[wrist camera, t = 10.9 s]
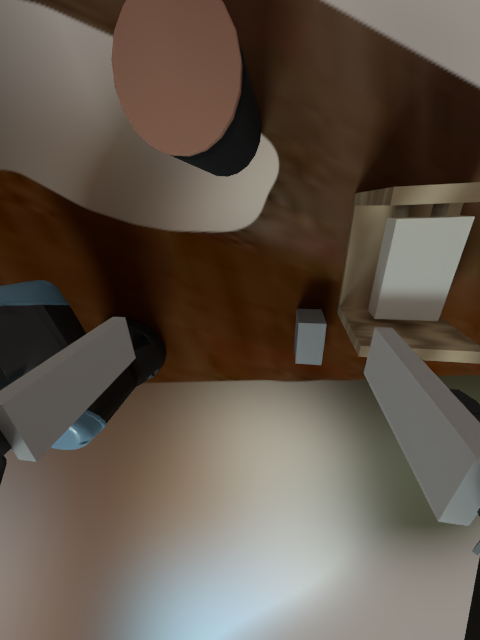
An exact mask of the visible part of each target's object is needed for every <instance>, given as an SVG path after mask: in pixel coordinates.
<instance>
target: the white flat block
mask: <svg viewBox="0 0 480 640" xmlns="http://www.w3.org/2000/svg"><path fill="white" fill-rule="evenodd" d="M474 218H475V217H473V216H430V217H399V218H387V221H386V226H385V230H384V235H383V240H382V245H381V250H380V254H379V259H378V264H377V269H376V274H375V278H374V283H373V288H372V293H371V298H370V302H369V307H368V311H369V313H370V314H371V315H372V316H373V318H374V319H393V320H424V321H438V320H439V317H440V314H441V311H442V308H443V306H444V303H445V300H446V297H447V294H448V292H449V289H450V286H451V283H452V280H453V277H454V275H455V272H456V269H457V266H458V263H459V260H460V258H461V255H462V252H463V249H464V246H465V243H466V241H467V238H468V235H469V232H470V229H471V227H472V224H473V221H474Z"/></svg>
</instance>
